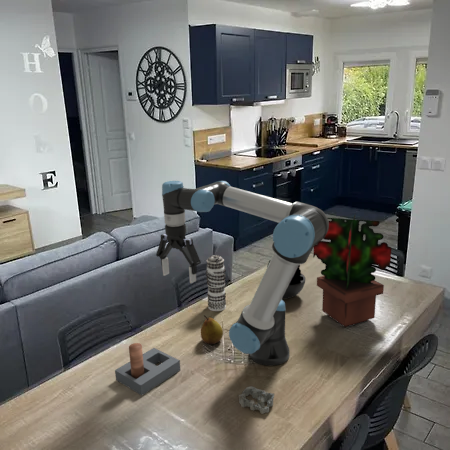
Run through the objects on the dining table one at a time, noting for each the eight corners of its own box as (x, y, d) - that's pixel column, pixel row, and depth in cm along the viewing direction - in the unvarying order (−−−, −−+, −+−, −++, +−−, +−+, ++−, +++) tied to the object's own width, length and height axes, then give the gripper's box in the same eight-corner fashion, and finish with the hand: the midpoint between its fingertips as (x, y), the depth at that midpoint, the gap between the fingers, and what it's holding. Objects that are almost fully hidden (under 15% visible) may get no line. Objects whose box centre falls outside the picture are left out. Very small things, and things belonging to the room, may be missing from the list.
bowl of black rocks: (311, 293, 224) (312, 257, 219) (294, 309, 208) (295, 271, 203) (274, 284, 235) (275, 250, 229) (256, 300, 219) (255, 263, 213)
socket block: (180, 370, 166) (179, 360, 165) (141, 395, 152) (140, 385, 151) (154, 356, 174) (153, 347, 173) (115, 379, 161) (114, 370, 160)
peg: (147, 380, 160) (144, 345, 156) (137, 387, 157) (134, 351, 153) (139, 376, 163) (136, 341, 159) (129, 382, 160) (126, 347, 156)
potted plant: (343, 335, 185) (348, 230, 172) (311, 313, 204) (314, 216, 192) (385, 323, 193) (393, 222, 181) (351, 302, 213) (356, 209, 200)
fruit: (226, 337, 186) (225, 311, 183) (216, 349, 179) (215, 321, 175) (207, 333, 190) (206, 307, 187) (197, 344, 182) (195, 317, 179)
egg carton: (236, 405, 147) (235, 395, 145) (247, 392, 153) (247, 382, 152) (265, 417, 141) (265, 405, 140) (276, 403, 147) (276, 392, 146)
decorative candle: (229, 303, 216) (228, 254, 208) (223, 312, 207) (221, 261, 200) (211, 301, 219) (209, 252, 211) (204, 310, 210) (202, 259, 203)
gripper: (143, 221, 169) (148, 274, 175) (194, 231, 155) (198, 288, 161) (158, 217, 175) (162, 268, 181) (208, 225, 160) (211, 281, 166)
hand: (179, 278), depth 171 cm, fingers open, 13 cm apart
